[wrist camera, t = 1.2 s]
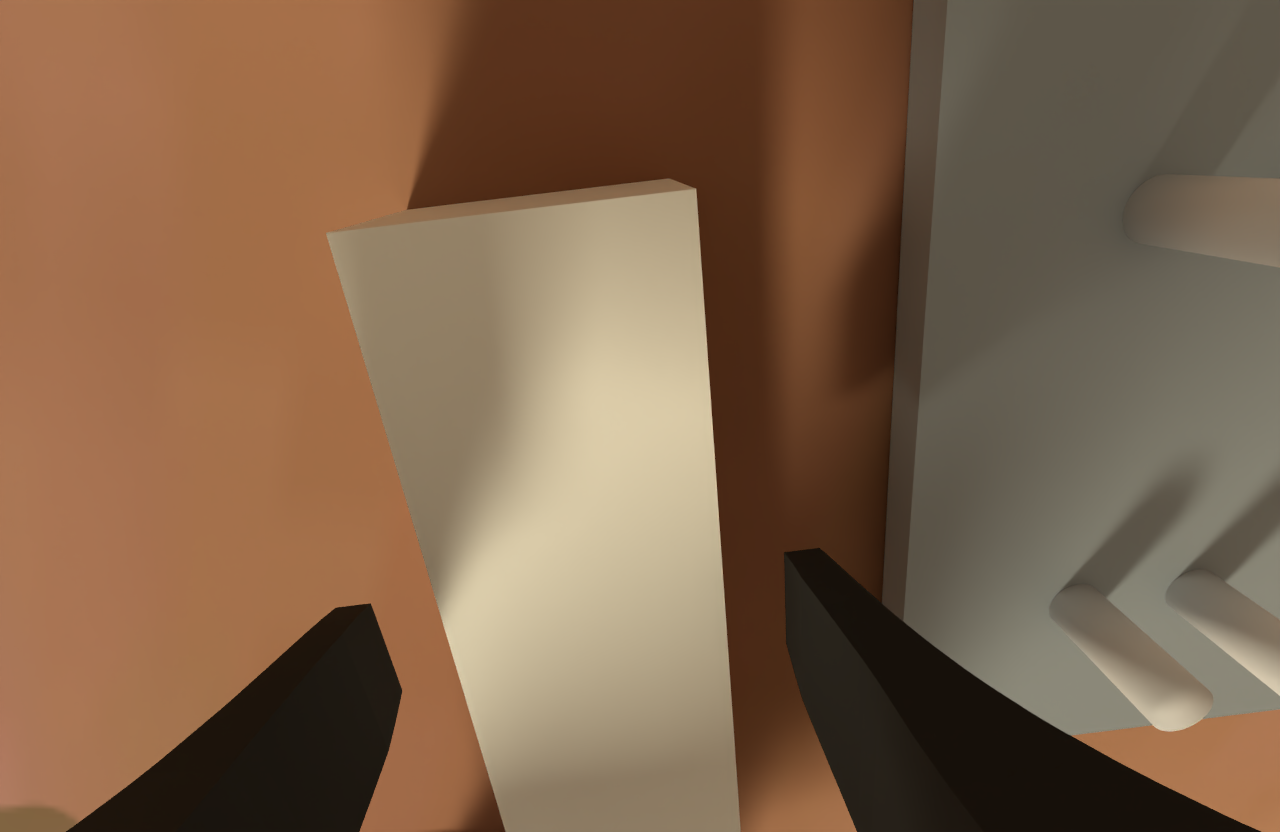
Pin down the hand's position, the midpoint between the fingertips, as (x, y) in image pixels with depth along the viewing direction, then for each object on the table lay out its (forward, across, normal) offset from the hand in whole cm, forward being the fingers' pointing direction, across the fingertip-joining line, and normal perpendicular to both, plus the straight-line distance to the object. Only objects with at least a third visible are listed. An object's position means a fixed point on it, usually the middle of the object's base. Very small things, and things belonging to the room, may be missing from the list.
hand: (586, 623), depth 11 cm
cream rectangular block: (+4, 0, 0) cm, 4 cm away
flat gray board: (+4, -12, -1) cm, 13 cm away
